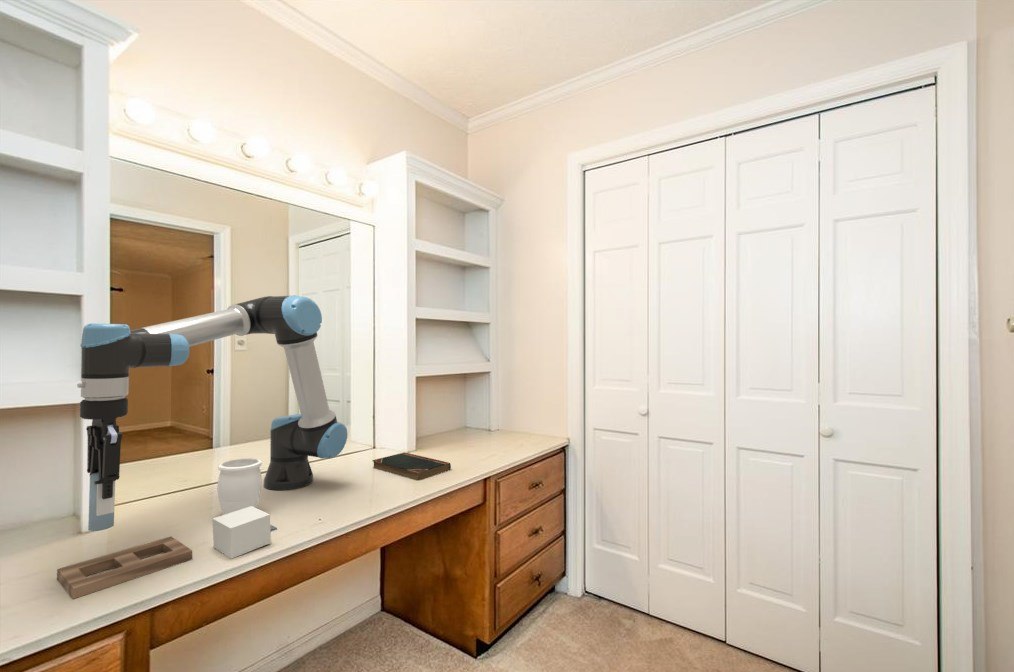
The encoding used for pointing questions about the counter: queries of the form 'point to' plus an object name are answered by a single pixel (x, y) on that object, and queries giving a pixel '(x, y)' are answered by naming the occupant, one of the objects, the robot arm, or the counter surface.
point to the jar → (239, 484)
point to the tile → (272, 528)
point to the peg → (95, 521)
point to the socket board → (122, 566)
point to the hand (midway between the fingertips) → (102, 510)
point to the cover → (241, 531)
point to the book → (411, 465)
